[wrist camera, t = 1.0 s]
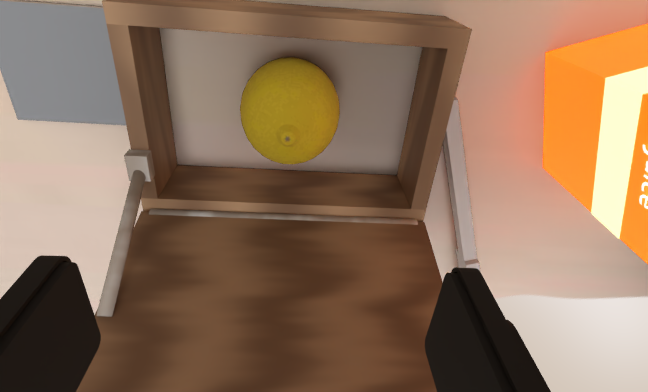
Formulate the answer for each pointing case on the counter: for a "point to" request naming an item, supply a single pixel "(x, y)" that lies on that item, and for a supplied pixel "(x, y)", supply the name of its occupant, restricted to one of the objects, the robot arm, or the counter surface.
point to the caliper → (459, 191)
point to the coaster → (59, 63)
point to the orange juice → (602, 129)
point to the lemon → (289, 110)
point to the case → (270, 230)
